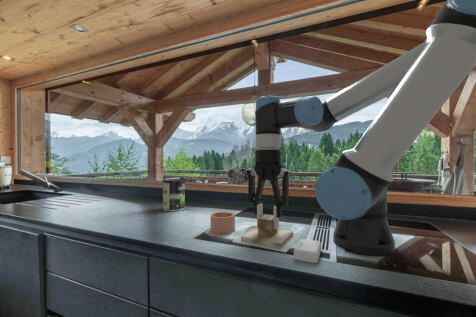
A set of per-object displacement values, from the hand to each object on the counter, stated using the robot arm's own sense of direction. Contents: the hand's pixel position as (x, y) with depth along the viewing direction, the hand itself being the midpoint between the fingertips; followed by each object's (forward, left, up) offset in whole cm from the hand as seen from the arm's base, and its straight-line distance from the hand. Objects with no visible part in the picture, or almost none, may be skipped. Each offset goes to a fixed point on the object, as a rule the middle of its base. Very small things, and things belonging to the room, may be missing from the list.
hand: (268, 226), depth 70 cm
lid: (0, 0, -3) cm, 3 cm away
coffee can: (+55, -18, -4) cm, 58 cm away
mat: (0, 0, -4) cm, 4 cm away
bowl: (+16, 0, -4) cm, 16 cm away
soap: (-13, +6, -4) cm, 15 cm away
